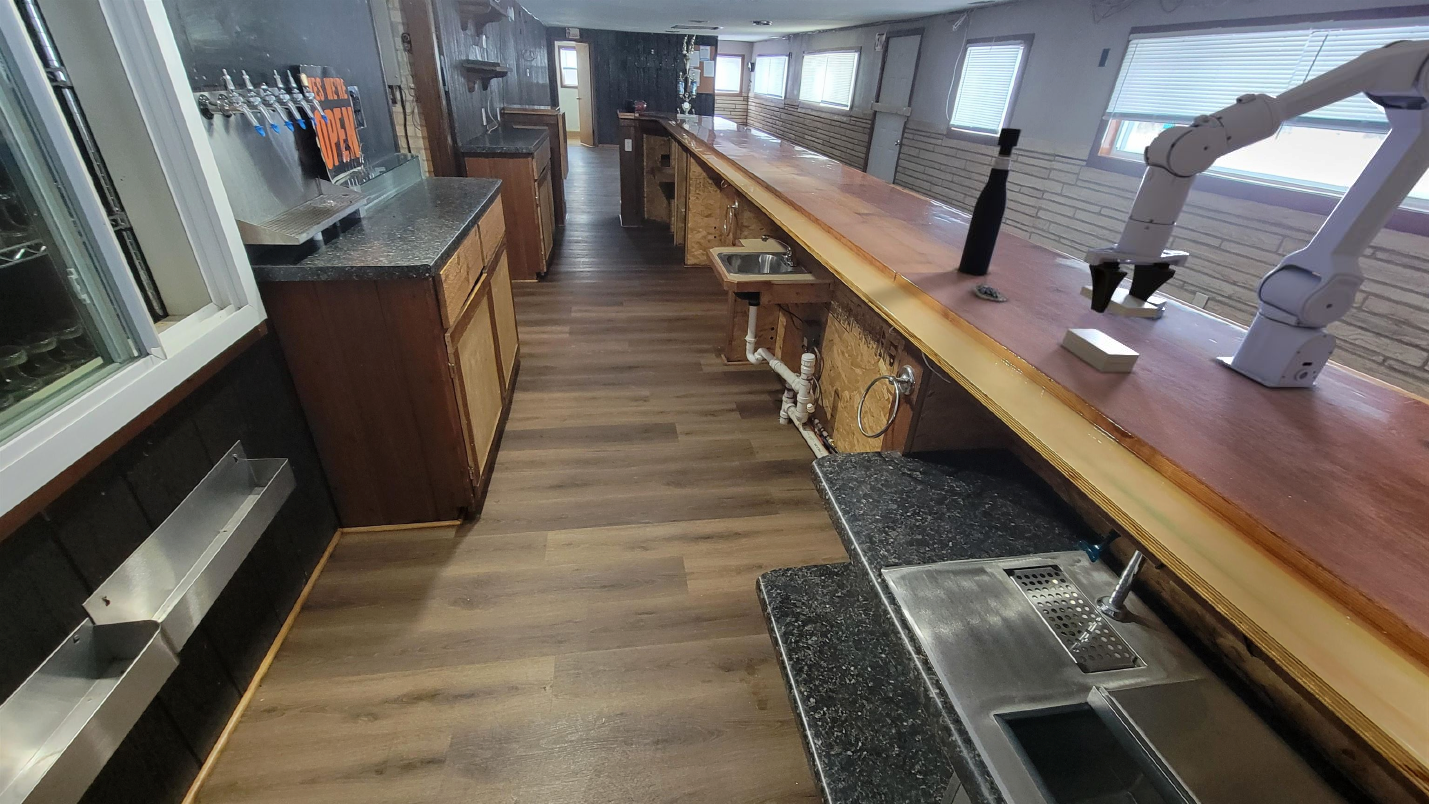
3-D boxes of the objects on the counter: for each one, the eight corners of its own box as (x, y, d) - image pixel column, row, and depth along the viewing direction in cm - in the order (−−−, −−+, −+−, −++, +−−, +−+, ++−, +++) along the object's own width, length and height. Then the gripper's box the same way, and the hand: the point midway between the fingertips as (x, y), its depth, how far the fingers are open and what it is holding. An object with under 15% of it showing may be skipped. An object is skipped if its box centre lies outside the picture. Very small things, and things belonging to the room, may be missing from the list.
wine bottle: (952, 268, 133) (988, 127, 118) (972, 266, 135) (1009, 127, 120) (973, 276, 128) (1013, 130, 113) (993, 273, 130) (1035, 130, 115)
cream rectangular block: (1132, 372, 86) (1140, 354, 85) (1101, 372, 86) (1108, 354, 84) (1088, 344, 95) (1095, 328, 94) (1060, 344, 95) (1066, 328, 93)
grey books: (1162, 316, 109) (1169, 300, 108) (1152, 320, 107) (1159, 304, 105) (1105, 300, 116) (1112, 285, 115) (1096, 303, 114) (1102, 288, 113)
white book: (1155, 317, 82) (1159, 308, 81) (1123, 317, 82) (1127, 307, 81) (1108, 294, 91) (1111, 286, 90) (1079, 294, 90) (1082, 285, 90)
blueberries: (987, 288, 120) (990, 279, 120) (1016, 300, 114) (1019, 291, 113) (962, 290, 118) (964, 281, 117) (990, 303, 112) (993, 293, 111)
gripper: (1176, 215, 84) (1138, 302, 91) (1085, 213, 83) (1053, 301, 89) (1216, 226, 78) (1172, 318, 85) (1119, 223, 76) (1082, 317, 83)
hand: (1113, 311), depth 87 cm, fingers closed on white book, 5 cm apart
